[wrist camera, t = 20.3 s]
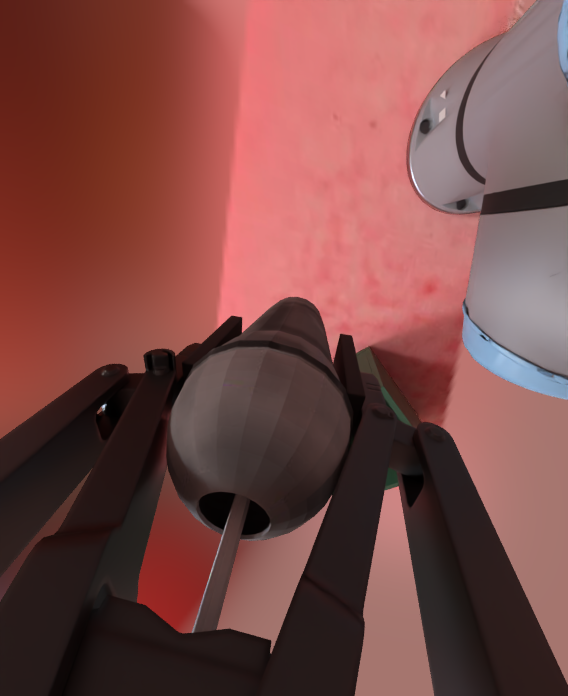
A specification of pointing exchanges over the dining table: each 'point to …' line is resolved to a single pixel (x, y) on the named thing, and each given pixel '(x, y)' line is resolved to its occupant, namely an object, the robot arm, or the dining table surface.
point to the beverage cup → (259, 436)
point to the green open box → (387, 399)
